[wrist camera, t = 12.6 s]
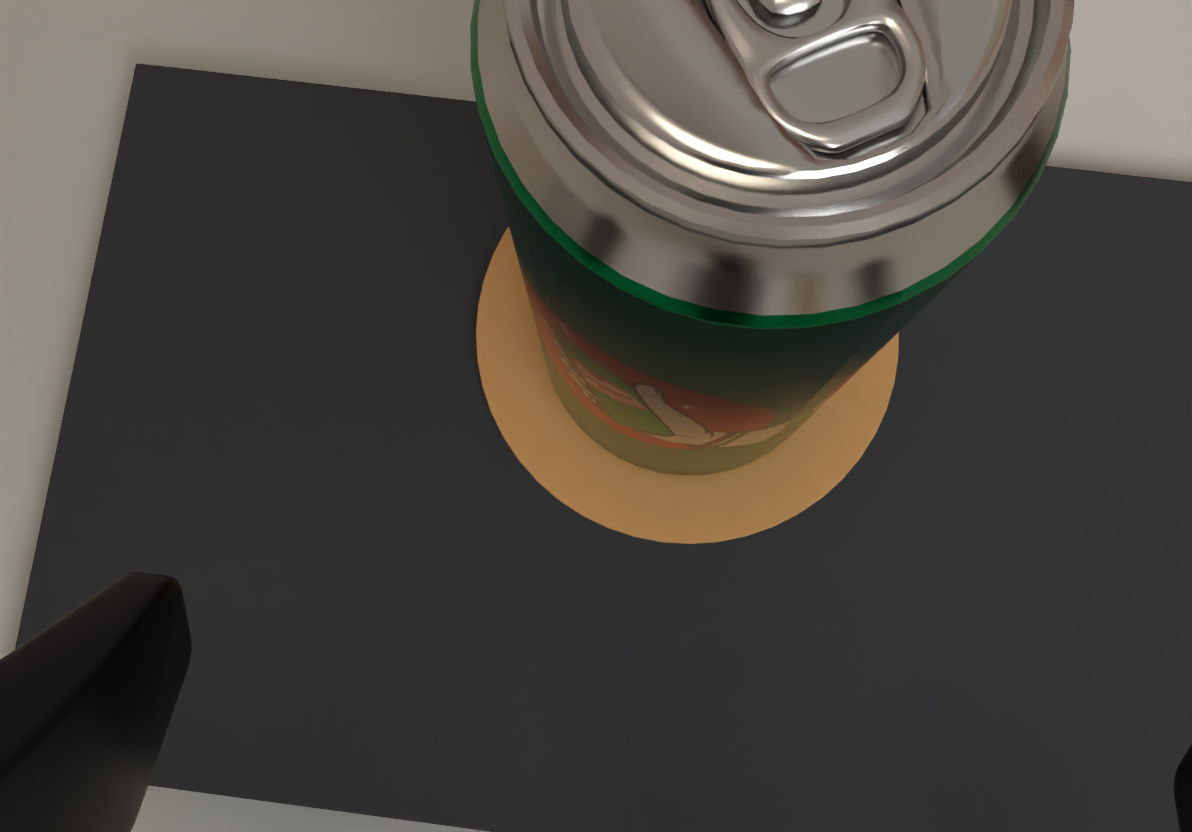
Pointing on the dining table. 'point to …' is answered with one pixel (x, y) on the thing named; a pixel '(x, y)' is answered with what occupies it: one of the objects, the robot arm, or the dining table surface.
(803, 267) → the soda can
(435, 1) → the dining table surface
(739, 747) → the placemat
